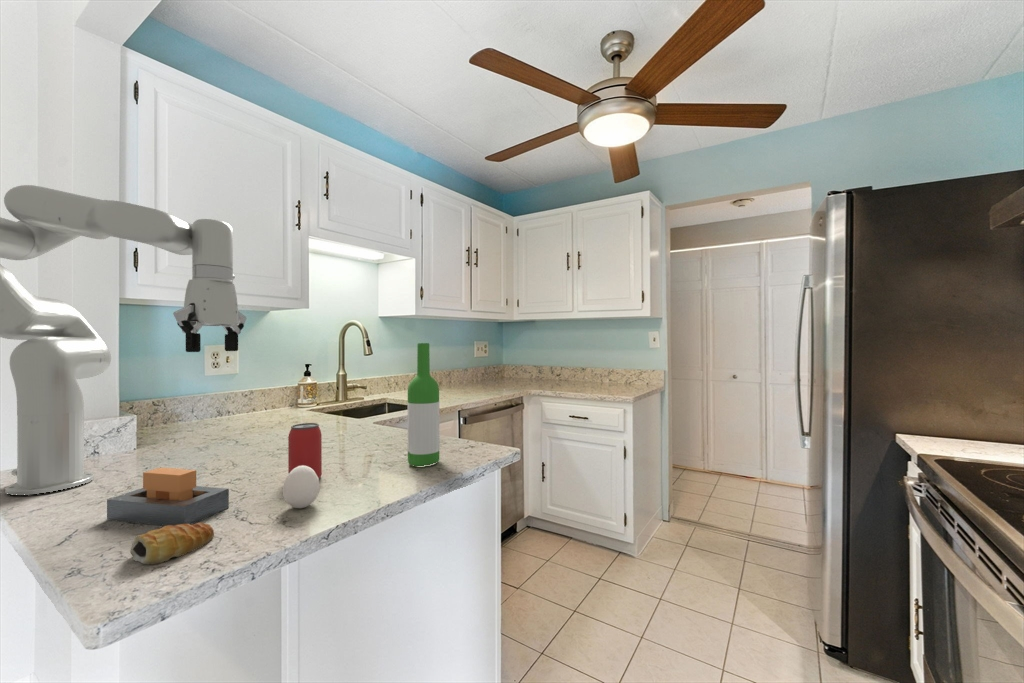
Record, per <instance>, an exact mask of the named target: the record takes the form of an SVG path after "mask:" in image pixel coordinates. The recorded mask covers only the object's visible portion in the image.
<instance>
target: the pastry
mask: <svg viewBox="0 0 1024 683" xmlns="http://www.w3.org/2000/svg"><path fill="white" fill-rule="evenodd" d="M214 531H215V530H214V528H213V527H212V526H211V525H210V524H208V523H203V522H196V523H194V524H191V525H190V524H179V525H175V526H173V525H168V526H163V527H161V528H157V529H151V530H148V531H147V532H146V533H142V534H140V535H137V536H136V537H135V539H134V541H133V542H132V543H131V544H132V545H131V547H130V550H129V553H130V555H131V556H132V560H133V561H134V560H135V561H134V562H137V561H138V562H139V563H141V564H142V565H143V564H144V565H150V564H151V565H157V564H156V563H159V564H161V563H164V561H165V562H168V561H169V560H170V559H171V558H175V557H177V558H179V557H181V555H182V556H184V555H183V554H185V553H186V554H188V553H190V551H191V552H193V551H195V550H197V549H199V548H201V547H203V546H205V545H207V544H208V543H209V542H210V541H211V540H213V538H214V536H215V533H214ZM204 544H205V545H204ZM202 545H203V546H202ZM200 546H201V547H200ZM198 547H199V548H198ZM196 548H197V549H196ZM194 549H195V550H194ZM192 550H193V551H192ZM187 552H188V553H187ZM186 554H185V555H186Z"/></svg>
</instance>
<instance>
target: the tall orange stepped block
mask: <svg viewBox="0 0 1024 683" xmlns="http://www.w3.org/2000/svg"><path fill="white" fill-rule="evenodd" d="M196 486H197V469H186V468H185V469H184V468H173V467H158V468H154V469H151V470H147V471H144V472H142V488H143V490H147V498H157V499H169V500H180V501H187V500H190V499H192V498H193V488H195V487H196Z"/></svg>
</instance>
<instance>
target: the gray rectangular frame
mask: <svg viewBox="0 0 1024 683" xmlns="http://www.w3.org/2000/svg"><path fill="white" fill-rule="evenodd" d="M229 490H230V489H229V488H226V487H225V488H224V487H215V486H214V487H213V486H211V487H210V486H202V485H201V486H199V485H196V487H195V488H193V498H192V499H190V500H187V501H180V500H169V499H157V498H147V490H143V487H141V488H138V489H136V490H133V491H129V492H126V493H123V494H122V493H121V494H120V495H117V496H114V497H110V498H107V499H106V520H107V521H112V520H117V521H116V522H122V521H126V522H125V523H132V522H134V523H135V524H142V523H144V525H153V526H162V525H163V527H164V526H168V525H173V526H175V525H179V524H190V525H194V524H196V523H199V522H200V521H202V519H203V520H205V519H206V518H209V517H211V516H213V515H216V514H218V513H220V512H222V511H225V510H226V509H230V508H229V506H230V500H229V497H230V496H229V493H230V492H229ZM134 523H133V524H134Z"/></svg>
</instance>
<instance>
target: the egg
mask: <svg viewBox="0 0 1024 683" xmlns="http://www.w3.org/2000/svg"><path fill="white" fill-rule="evenodd" d="M320 487H321V486H320V478H318V476H317V475H316V473H315V471H314V470H313V469H312V468H310V467H308V466H303V465H302V466H298V467H296V468H294V469H293V470H292V471H291V472H290V473H289V474H287V475H286V477H285V480H284V482H283V486H282V495H283V499H284V501H285V502H286V503H287V505H288V506H290V507H292V508H294V509H304V508H307V507H308V506H310V505H312V503H313V502H314V501H315V500H316V499H317V497H318V495H319V492H320Z"/></svg>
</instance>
